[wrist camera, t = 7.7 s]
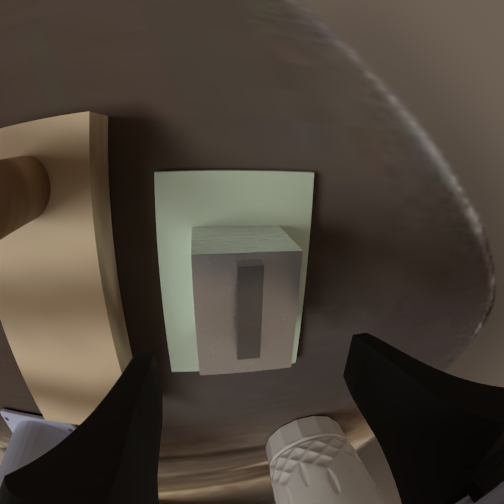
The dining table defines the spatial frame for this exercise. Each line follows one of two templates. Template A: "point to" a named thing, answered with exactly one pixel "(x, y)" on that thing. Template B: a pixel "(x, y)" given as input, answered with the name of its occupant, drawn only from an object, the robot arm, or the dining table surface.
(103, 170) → the panel with round knob
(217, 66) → the dining table surface
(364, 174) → the dining table surface
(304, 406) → the dining table surface
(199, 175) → the board
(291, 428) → the white cup
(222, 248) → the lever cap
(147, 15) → the dining table surface
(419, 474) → the robot arm
